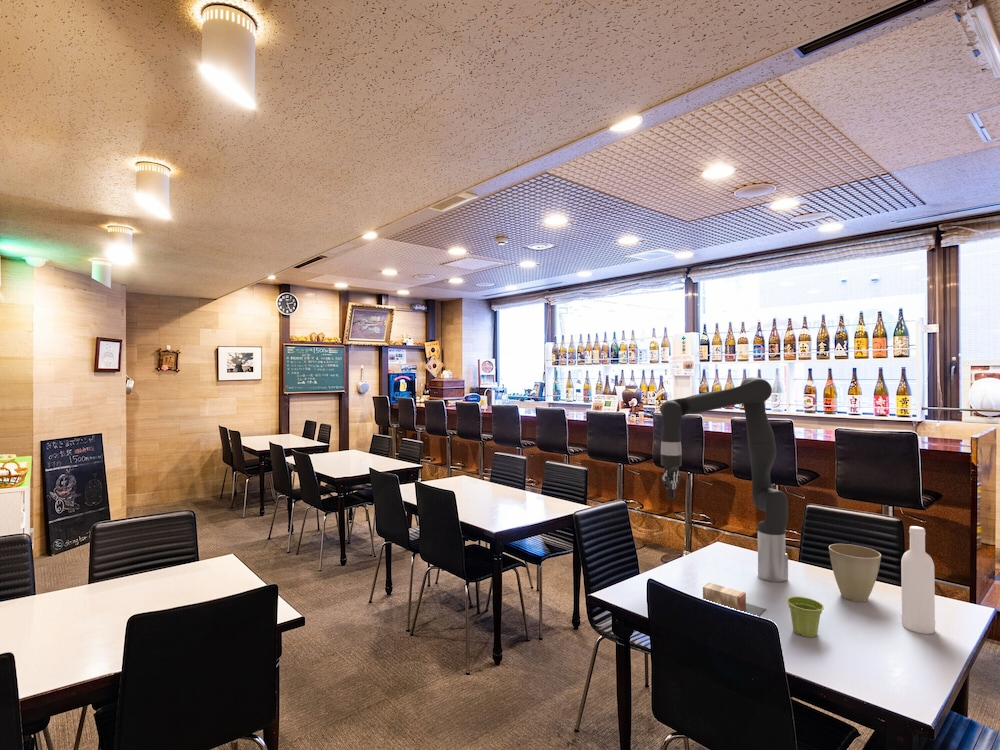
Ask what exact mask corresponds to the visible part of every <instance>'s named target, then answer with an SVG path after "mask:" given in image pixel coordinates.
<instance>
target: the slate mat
mask: <svg viewBox="0 0 1000 750" xmlns="http://www.w3.org/2000/svg"><path fill="white" fill-rule="evenodd" d="M766 610H767V608H765V607H761V606H759V605H756V604H755V605H754V604H751V603H748V602H746V608H745V609H744V610H743V611H744V612H747V613H750V614H753V615H757V616H759V617H760V616H761V615H762V614H763V613H764V612H765V611H766Z"/></svg>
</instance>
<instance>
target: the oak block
mask: <svg viewBox="0 0 1000 750" xmlns="http://www.w3.org/2000/svg"><path fill="white" fill-rule="evenodd" d="M703 599H706V600H709V601H712V602H715V603H718V604H721V605H724V606H728V607H730V608H734V609H736V610H740V611H743V610H744V609H745V608H746V603H747V592H745V591H741V590H737V589H734V588H730V587H726V586H723V585H720V584H715V583H712V582H708V583H706V584H705V585H703V586H702V600H703Z"/></svg>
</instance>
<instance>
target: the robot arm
mask: <svg viewBox="0 0 1000 750" xmlns="http://www.w3.org/2000/svg"><path fill="white" fill-rule="evenodd" d="M772 392H773V387H772V385H771V384H770V382H768V381H767V380H766V379H764V378H761V377H755V376H754V377H753V376H752V377H747V378H745V379H744V380H743V381H742V382H741V384H740V385H739V386H735V387H732V388H726V389H723V390H722V389H720V390H713V391H706V392H702V393H698V394H693V395H690V396H686V397H683V398H675V399H670V400H667V401H665V402H663V403H662V404H661V405H660V407H659V409H660V414H661V416H662V428H661V433H660V434H661V435H660V436H661V438H660V439H661V443H660V465H661V466H662V467H664V468H663V475H660V479H661V483H662V484H663V487H664V488H666V489H667V498H668V499H669V500H674V499H676V489H677V487H679V485H680V481H681V479H682V478H681V477H682V475H683V474H682V472H679V467H681V466H682V461H683V460H682V458H683V457H682V456H683V455H682V443H681V442H682V441H681V440H682V436H681V424H682V416H686V415H687V416H688V415H696V414H697V415H698V414H701V413H706V412H709V411H713V410H717V409H722V408H725V407H730V406H736V405H743V409H744V414H745V415H744V416H745V427H746V435H747V436H746V437H747V445H748V446H747V447H748V453H749V460H750V468H751V469H750V470H751V481H752V482H751V485H752V486H751V487H752V501H753V504H754V507H755V508H757V510H759V511H761V512H764V513H765V516H764V520H761V521H759V522H758V523H757V577H759V578H760V579H762V580H764V581H767V582H772V583H773V582H774V583H781V582H785V581H789V554H788V553H786V528H787V527H788V523H789V521H788V520H789V499H788V497H787V495H786V494H785V492H783V491H781V490H778V489H774V488H772V487H773V486H772V482H771V469H772V468H773V465H774V462H775V460H776V457H777V447H776V445H777V444H776V439H775V434H774V431H773V429H772V428H773V427H772V425H771V423H770V421H769V419H768V416H767V412H766V403H765V402H766V401H767V400H769V398H770V397H771V396H772Z"/></svg>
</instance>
